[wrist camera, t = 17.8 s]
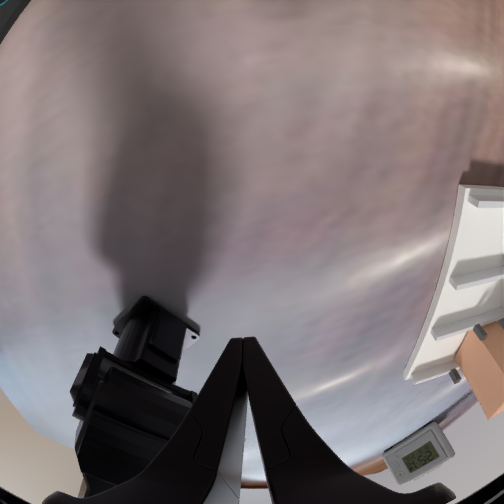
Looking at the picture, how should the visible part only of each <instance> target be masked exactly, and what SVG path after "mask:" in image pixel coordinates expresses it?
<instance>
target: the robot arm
mask: <svg viewBox="0 0 504 504" xmlns="http://www.w3.org/2000/svg"><path fill="white" fill-rule="evenodd" d="M143 301H145V302H146V303H145V302H143ZM112 332H113V334H114V335H115V336H117V337H118V338H120V339H119V341H118V343H117V346H116V348H115V351H114V353H113V354H111V353H109V352H107V351H106V349H104V348H102V347H101V346H100V348H99V350H98V352H97V353H94V354H90V353H87V355H86V357H85V359H84V361H83V364H82V366H81V368H80V370H79V372H78V374H77V377H76V379H75V381H74V383H73V385H72V388H71V390H70V394H71V396H72V399H73V401H74V403H73V407H75V408H74V411H73V414H72V416H73V417H75V418H77V419H80V422H79V425H78V428H77V431H76V438H75V451H76V455H77V458H78V462H79V466H80V470H81V472H82V474H83V477H84V478H83V481H82V485H81V488H80V492H79V495H78V498H76V497H73V496H70V495H68V494H65V493H63V492H60V491H56V492H54V493H53V494H51V495H50V496H48V497H47V498H45V500H44V501H43V502H42V504H239V498H240V497H239V496H240V486H241V475H242V463H243V451H244V439H245V427H246V414H247V402H248V397H249V402H250V407H251V412H252V416H253V421H254V426H255V431H256V435H257V440H258V444H259V449H260V454H261V458H262V462H263V467H264V471H265V476H266V480H267V484H268V488H269V492H270V497H271V500H272V504H446V503H448V502H450V501H452V500H454V499H455V498H456V496H455V494H454V493H453V492H452V491H451V490H450V489H449V488H447V487H446V486H444V485H443V484H442V483H436V484H433V485H430V486H428V487H426V488H423V489H421V490H419V491H416V492H413V493H407V494H403V493H397V492H395V491H392V490H390V489H388V488H386V487H383V486H382V485H380V484H378V483H376V482H374V481H372V480H370V479H368V478H366V477H364V476H362V475H360V474H359V473H357V472H355V471H354V470H352V469H351V468H350V467H348V466H347V465H346V464H345V463H344V462H343V461H342V460H341V459H340V458H339V457H338V456H337V455H336V454H335V453H334V452H333V451H332V450H331V449H330V447H329V446H328V445H327V444H326V443H325V442H324V441H323V440H322V439H321V438H320V436H319V435H318V434H317V433H316V432H315V430H314V429H313V428H312V427H311V426H310V424H309V423H308V421H307V420H306V419H305V417H304V416H303V414H302V413H301V411H300V409H299V408H298V406H296V403H295V402H294V400H293V399H292V397H291V395H290V394H289V392H288V390H287V389H286V387H285V386H284V384H283V382H282V381H281V379H280V377H279V376H278V374H277V372H276V371H275V369H274V368H273V366H272V364H271V363H270V361H269V359H268V358H267V356H266V354H265V353H264V351H263V349H262V347H261V346H260V344H259V342H258V341H257V339H256V338H255V337H244V338H231V339H230V341H229V342H228V344H227V346H226V348H225V349H224V351H223V353H222V355H221V356H220V358H219V360H218V362H217V363H216V365H215V367H214V369H213V370H212V372H211V374H210V375H209V377H208V379H207V381H206V382H205V384H204V386H203V387H202V389H201V391H200V393H199V394H198V395H197V393H196V392H193V391H188V390H186V389H183V388H181V387H179V386H176V385H175V382H176V379H177V373H178V368H179V362H180V359H181V354H182V352H183V351H184V350H186V349H187V348H188V347H190V346H191V345H192V344H194V343H195V342H196V341H198V340H199V336H200V334H199V332H197V331H196V330H194V329H193V328H191V327H190V326H188V325H187V324H185V323H184V322H182V321H181V320H180V319H178V318H177V317H175V316H174V315H172V314H171V313H169V312H168V311H167V310H165V309H164V308H162V307H161V306H159V305H158V304H157V303H155V302H154V301H153V300H151V299H150V298H148V297H147V296H142V297H141V298H140V299H139V300H138V301H137V302H136V303H135V304H134V306H133V307H132V308H131V309H130V310H129V311H128V312H127V313H126V314H125V316H124V317H123V318H122V319H121V320H120V321H119V322H118V324H117V325H116V326H115V327H114V329H113V331H112ZM193 335H194V336H193ZM0 504H31V503H29V502H27V501H25V500H23V499H22V498H20V497H17V496H16V495H14V494H12V493H10V492H9V491H7V490H5V489H4V488H2V487H0ZM455 504H504V473H503V474H502V475H500V476H499V477H497V478H496V479H494V480H493V481H491V482H490V483H488V484H487V485H485V486H484V487H482V488H481V489H479V490H477V491H476V492H474V493H473V494H471V495H470V496H468V497H466V498H464V499H463V500H461V501H459V502H457V503H455Z"/></svg>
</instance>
